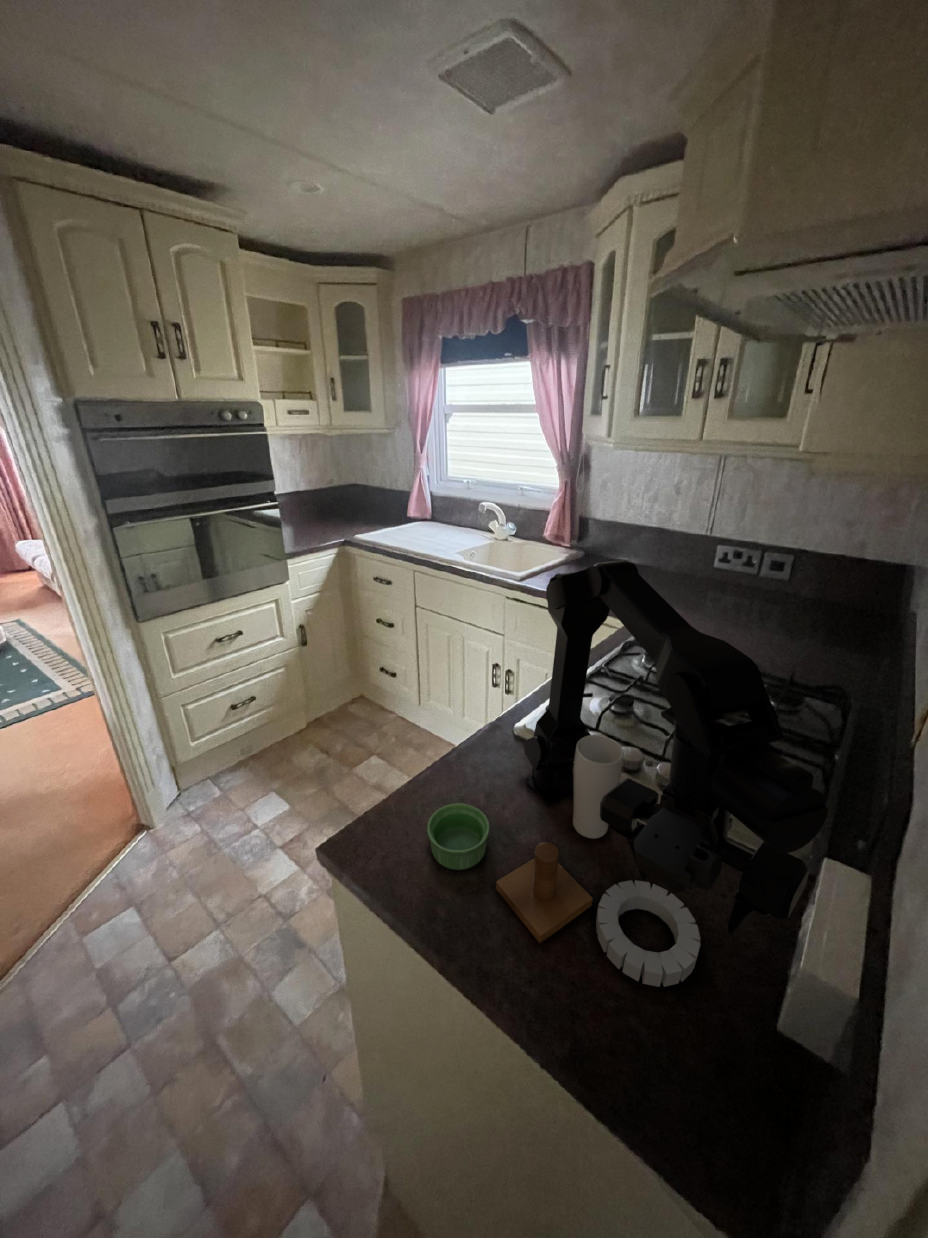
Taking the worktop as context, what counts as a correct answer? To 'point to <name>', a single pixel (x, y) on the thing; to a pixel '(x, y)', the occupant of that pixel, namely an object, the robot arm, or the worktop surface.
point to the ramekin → (458, 835)
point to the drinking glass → (594, 781)
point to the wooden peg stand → (544, 893)
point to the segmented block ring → (634, 958)
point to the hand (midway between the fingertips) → (685, 902)
